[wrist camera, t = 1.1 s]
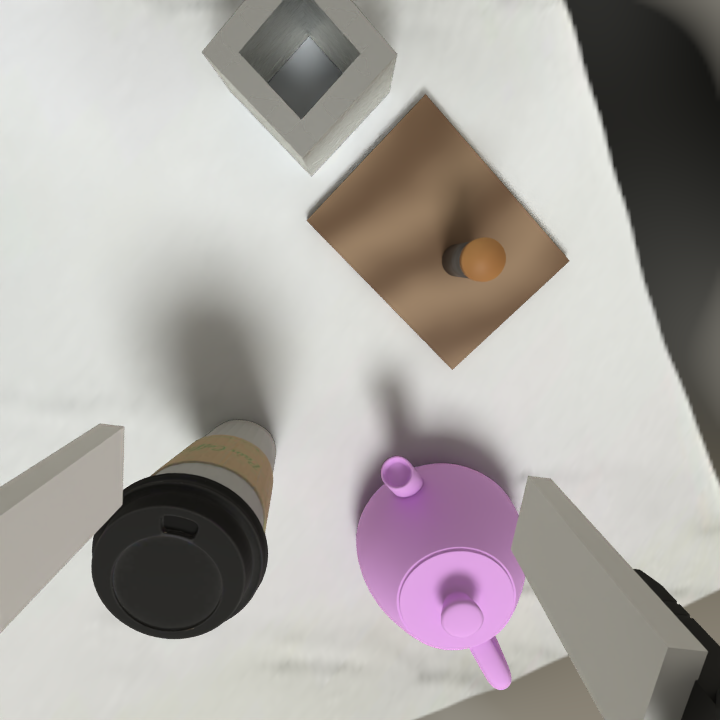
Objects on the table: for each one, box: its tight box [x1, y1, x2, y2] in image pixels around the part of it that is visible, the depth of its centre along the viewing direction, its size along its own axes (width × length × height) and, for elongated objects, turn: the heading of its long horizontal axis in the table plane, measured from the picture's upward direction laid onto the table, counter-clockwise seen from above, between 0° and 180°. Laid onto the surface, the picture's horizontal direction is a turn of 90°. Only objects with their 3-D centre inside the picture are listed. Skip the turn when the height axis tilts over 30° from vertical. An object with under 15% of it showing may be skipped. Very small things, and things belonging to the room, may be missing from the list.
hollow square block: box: [202, 0, 397, 177], centre depth 29 cm, size 8×8×6 cm
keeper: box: [307, 94, 569, 370], centre depth 30 cm, size 16×12×8 cm
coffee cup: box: [91, 420, 276, 639], centre depth 30 cm, size 9×9×15 cm
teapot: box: [356, 456, 525, 690], centre depth 34 cm, size 14×20×11 cm
